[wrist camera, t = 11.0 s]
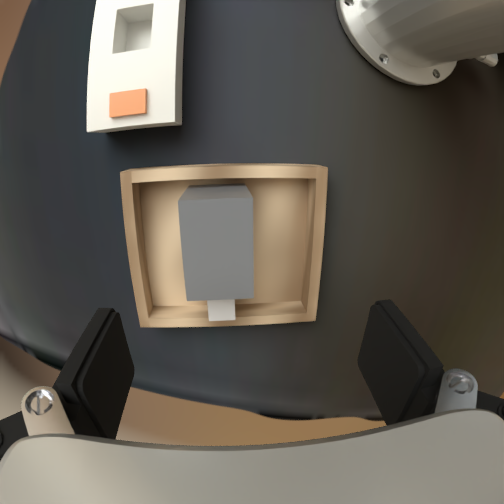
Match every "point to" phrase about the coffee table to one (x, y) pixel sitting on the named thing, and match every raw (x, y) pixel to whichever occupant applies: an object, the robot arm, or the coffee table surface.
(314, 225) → the tray
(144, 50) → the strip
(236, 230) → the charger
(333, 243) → the coffee table surface
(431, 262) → the coffee table surface
